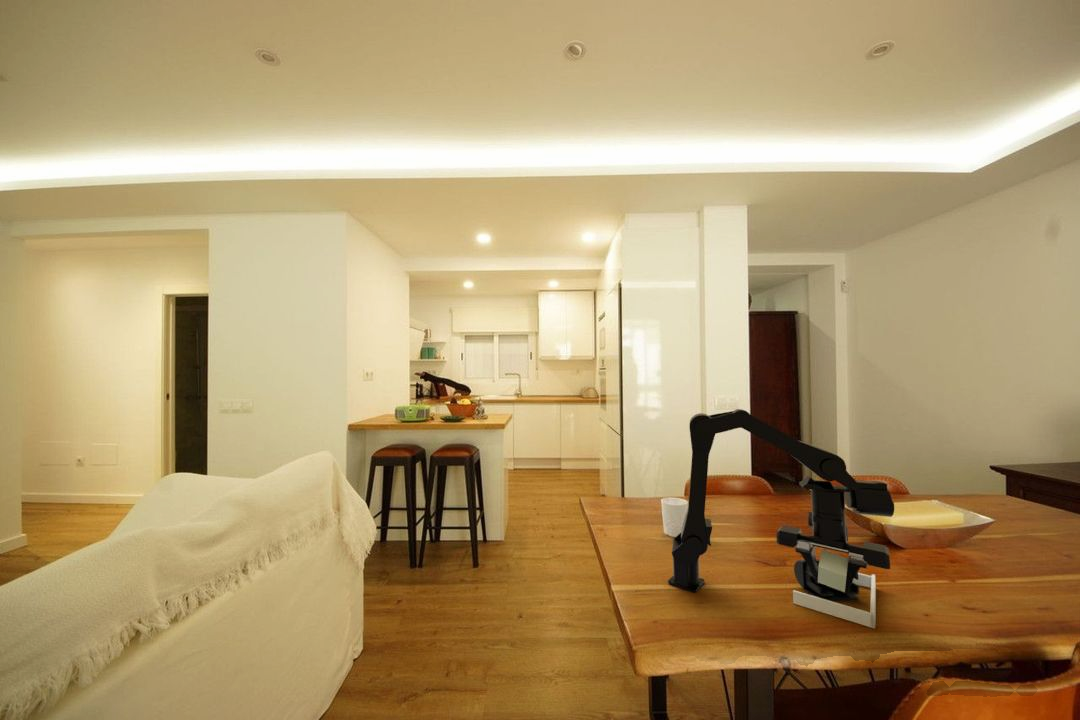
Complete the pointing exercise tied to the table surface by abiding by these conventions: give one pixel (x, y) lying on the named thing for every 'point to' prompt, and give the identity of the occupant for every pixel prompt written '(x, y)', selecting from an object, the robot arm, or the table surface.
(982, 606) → the table surface
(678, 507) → the white cup
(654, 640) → the table surface
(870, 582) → the white u-shaped frame
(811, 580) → the end cap
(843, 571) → the block
